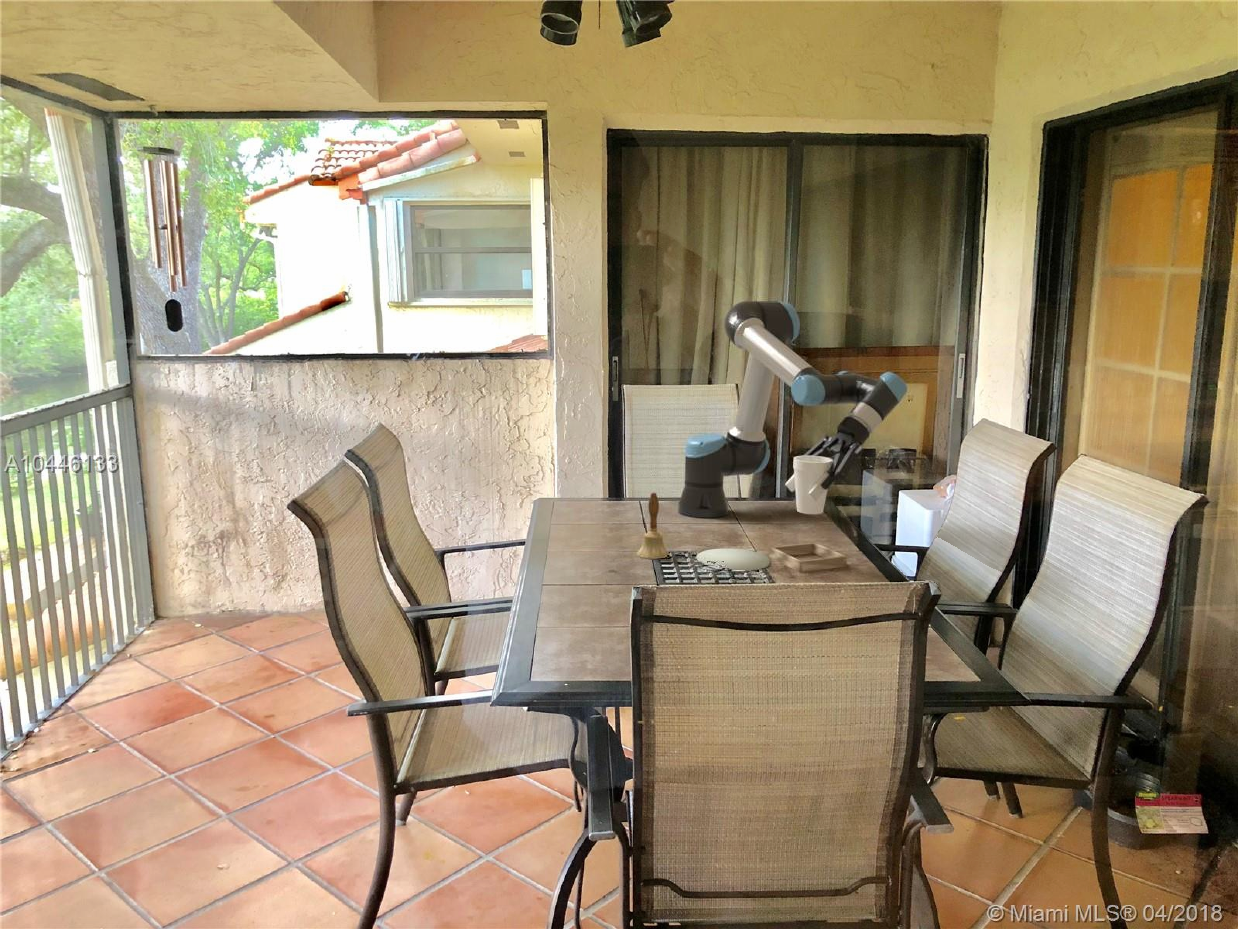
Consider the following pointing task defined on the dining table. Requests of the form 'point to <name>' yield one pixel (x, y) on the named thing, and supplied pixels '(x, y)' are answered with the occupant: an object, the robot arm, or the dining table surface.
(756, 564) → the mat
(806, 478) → the foam cup
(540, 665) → the dining table surface
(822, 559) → the cup socket
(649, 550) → the hand bell
